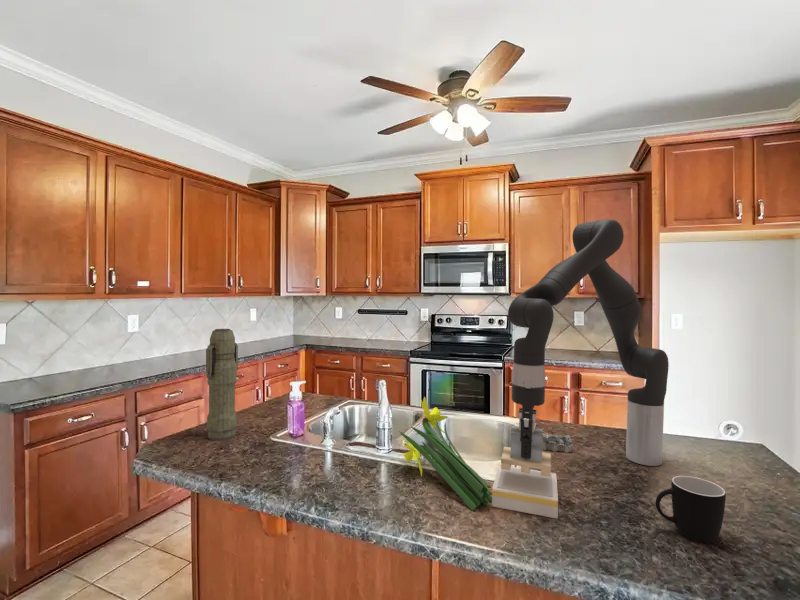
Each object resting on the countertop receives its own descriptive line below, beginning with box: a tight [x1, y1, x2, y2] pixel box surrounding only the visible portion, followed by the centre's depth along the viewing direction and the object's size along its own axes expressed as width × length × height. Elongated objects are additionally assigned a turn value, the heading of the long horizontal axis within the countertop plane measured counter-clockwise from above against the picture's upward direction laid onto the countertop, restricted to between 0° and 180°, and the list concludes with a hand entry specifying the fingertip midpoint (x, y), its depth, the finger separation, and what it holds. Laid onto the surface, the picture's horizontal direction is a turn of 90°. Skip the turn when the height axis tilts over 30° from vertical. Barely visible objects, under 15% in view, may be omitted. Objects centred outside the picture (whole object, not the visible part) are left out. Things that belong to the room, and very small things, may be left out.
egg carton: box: [542, 432, 574, 454], centre depth 130 cm, size 11×8×4 cm
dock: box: [491, 464, 559, 519], centre depth 98 cm, size 14×14×4 cm
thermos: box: [205, 328, 239, 441], centre depth 135 cm, size 9×12×35 cm
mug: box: [655, 475, 727, 544], centre depth 84 cm, size 12×9×10 cm
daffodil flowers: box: [398, 396, 492, 512], centre depth 107 cm, size 17×15×35 cm
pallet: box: [500, 425, 552, 477], centre depth 98 cm, size 8×11×8 cm
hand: (526, 453), depth 98 cm, fingers closed on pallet, 5 cm apart
